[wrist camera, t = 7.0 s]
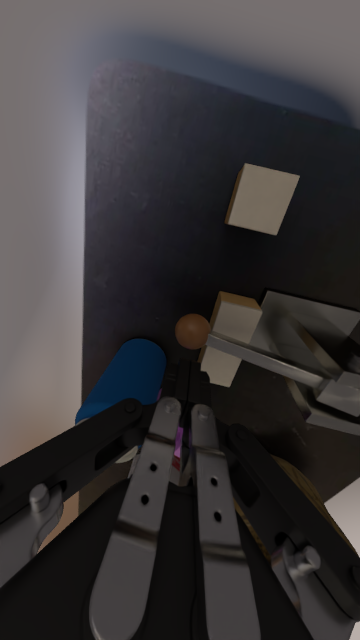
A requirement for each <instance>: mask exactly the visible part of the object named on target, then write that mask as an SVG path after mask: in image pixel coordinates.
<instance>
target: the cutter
mask: <svg viewBox="0 0 360 640" xmlns="http://www.w3.org/2000/svg"><path fill="white" fill-rule="evenodd" d="M258 305H259V307H260V309H261V310H262V315H261V317H260V319H259V321H258V324H257V326H256V328H255V330H254V333H253V335H252V337H251V339H250V342H249V344H250V345H253V346H255V347H258V348H261V349H264V350H266V351H269V352H272V353H274V354H277V355H280V356H282V357H285V358H288V359H290V360H293V361H296V362H299V363H301V364H304V365H307V366H309V367H312V368H315V369H317V370H318V368H319V367H320V365H322V366H323V367H324V369H325V370H326V371H327V372H328V374H329V375H330V376H331V377H332V379H333V380H334V381H335V382H336V383H338V384H342V385H346V386H351V387H355V388H359V389H360V345H359V344H358V343H356V342H355V341H354V340H353V339H351V338H350V337H349V334H350V333H351V332H352V330H353V329H354V327H355V326H356V324H357V323H358V322H359V320H360V311H359V310H357V309H354V308H350V307H345V306H341V305H337V304H333V303H329V302H324V301H320V300H316V299H312V298H308V297H303V296H299V295H295V294H291V293H286V292H282V291H278V290H274V289H270V288H264V291H263V293H262V295H261V298H260V300H259V303H258ZM282 376H283V375H282ZM283 378H284V380H285V382H286V384H287V386H288V388H289V390H290V392H291V394H292V396H293V398H294V400H295V402H296V404H297V406H298V408H299V410H300V412H301V414H302V416H303V418H304V420H305V422H306V423H310V424H314V425H318V426H322V427H327V428H331V429H335V430H339V431H343V432H347V433H351V434H356V435H360V415H359V416H358V417H356V416H353V415H351V414H348V413H346V412H343V411H341V410H338V409H336V408H334V407H331V406H329V405H326V404H324V403H321V402H319V401H317V400H316V399H315V395H314V392H313V389H312V387H311V386H309V385H306V384H304V383H301V382H299V381H296V380H294V379H291V378H288V377H286V376H283Z"/></svg>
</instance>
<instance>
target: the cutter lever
mask: <svg viewBox="0 0 360 640" xmlns="http://www.w3.org/2000/svg"><path fill="white" fill-rule="evenodd" d="M175 335H176V338H177V340H178V342H179V343H180V344H181V345H182V346H183V347H185V348H188V349H199V348H201V347H203V346H204V345H207V346H210V347H212V348H215V349H217V350H220V351H222V352H225V353H227V354H230V355H232V356H235V357H238V358H240V359H243V360H245V361H248V362H250V363H253V364H255V365H258V366H260V367H263V368H266V369H268V370H271V371H273V372H276V373H278V374H281V375H283V376H286V377H288V378H291V379H294V380H296V381H299V382H301V383H304V384H306V385H309V386H311V387H312V389H313V392H314V395H315V399H316V400H317V401H319V402H321V403H324V404H326V405H329V406H331V407H334V408H336V409H338V410H341V411H343V412H346V413H348V414H351V415H353V416H356V417H358V416H359V415H360V389H359V388H355V387H351V386H346V385H342V384H338V383H336V382H335V381H334V380H333V379H332V377H331V376H330V375H329V374H328V372H327V371H326V370H325V369H324V367H323V366H322V365H320V367H319V368H318V370H317V369H315V368H312V367H309V366H307V365H304V364H301V363H299V362H296V361H293V360H290V359H288V358H285V357H282V356H280V355H277V354H274V353H272V352H269V351H266V350H264V349H261V348H258V347H255V346H253V345H250V344H247V343H245V342H242V341H239V340H237V339H234V338H231V337H229V336H226V335H223V334H221V333H218V332H215V331H212V330H211V328H210V325H209V323H208V321H207V320H206V319H205V318H204V317H203V316H201V315H198V314H187V315H185V316H183V317H182V318H181V319H180V320H179V321H178V322H177V325H176V328H175Z"/></svg>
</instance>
